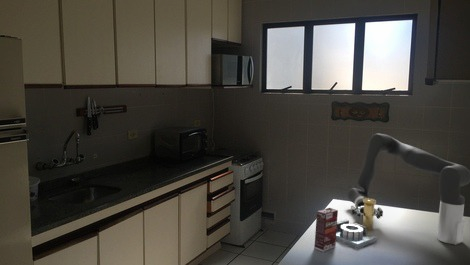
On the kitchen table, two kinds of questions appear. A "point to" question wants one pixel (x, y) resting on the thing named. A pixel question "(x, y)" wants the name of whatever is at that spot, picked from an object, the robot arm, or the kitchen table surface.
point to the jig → (353, 234)
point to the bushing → (368, 213)
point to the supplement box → (326, 229)
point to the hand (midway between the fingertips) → (369, 216)
